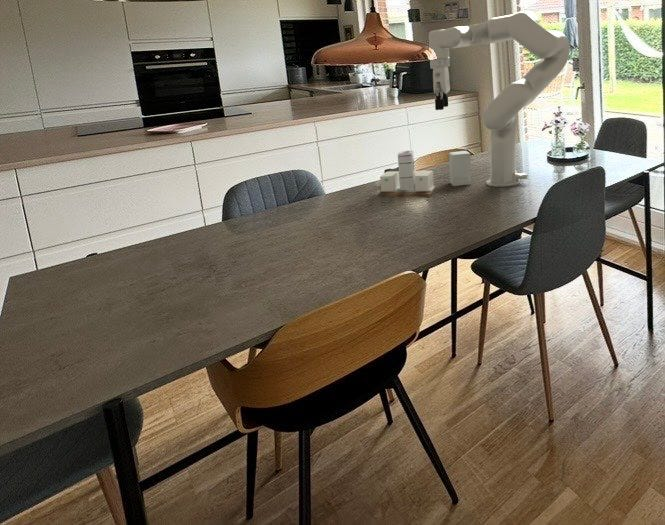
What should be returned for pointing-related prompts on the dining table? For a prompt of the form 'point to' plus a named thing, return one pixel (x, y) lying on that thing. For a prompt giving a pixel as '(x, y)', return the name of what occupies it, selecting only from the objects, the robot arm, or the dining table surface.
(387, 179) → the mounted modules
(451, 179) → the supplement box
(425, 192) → the rail board
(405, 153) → the syrup box
